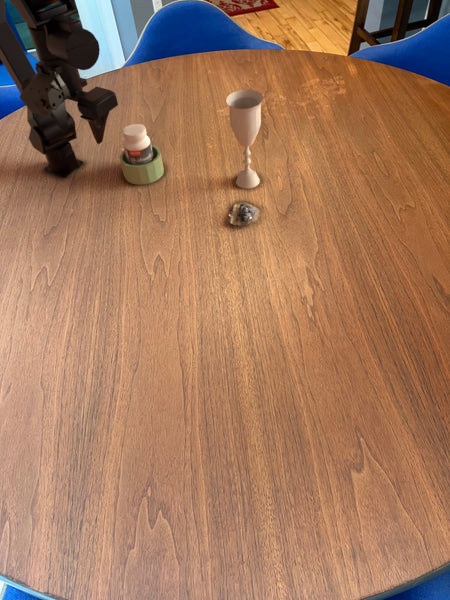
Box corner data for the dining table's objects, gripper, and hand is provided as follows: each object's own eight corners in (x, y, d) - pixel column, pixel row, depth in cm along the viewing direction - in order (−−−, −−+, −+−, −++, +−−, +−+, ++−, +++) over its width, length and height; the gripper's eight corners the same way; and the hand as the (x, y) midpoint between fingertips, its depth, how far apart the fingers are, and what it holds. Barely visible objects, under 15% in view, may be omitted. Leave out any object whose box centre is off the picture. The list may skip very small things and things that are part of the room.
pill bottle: (135, 181, 103) (124, 139, 96) (126, 168, 107) (116, 127, 99) (159, 173, 105) (151, 131, 97) (150, 160, 108) (141, 119, 100)
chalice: (261, 192, 98) (260, 109, 85) (228, 190, 100) (222, 108, 86) (266, 172, 103) (266, 90, 89) (235, 170, 104) (230, 88, 91)
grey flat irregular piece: (230, 231, 91) (229, 223, 90) (222, 206, 96) (221, 198, 95) (264, 225, 92) (264, 217, 90) (255, 200, 97) (254, 192, 96)
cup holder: (116, 177, 105) (111, 160, 102) (141, 157, 110) (137, 139, 107) (147, 189, 102) (142, 171, 98) (171, 167, 106) (168, 149, 103)
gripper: (-19, 62, 80) (18, 145, 92) (59, 84, 73) (88, 171, 85) (31, 37, 86) (60, 118, 98) (108, 55, 79) (129, 141, 90)
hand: (82, 137), depth 92 cm, fingers open, 9 cm apart
